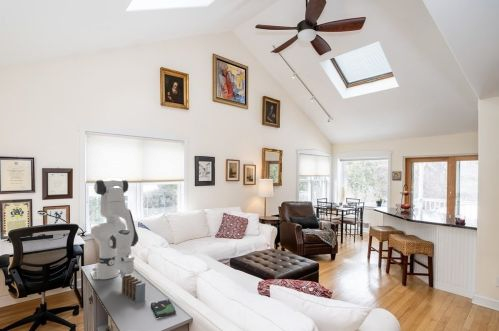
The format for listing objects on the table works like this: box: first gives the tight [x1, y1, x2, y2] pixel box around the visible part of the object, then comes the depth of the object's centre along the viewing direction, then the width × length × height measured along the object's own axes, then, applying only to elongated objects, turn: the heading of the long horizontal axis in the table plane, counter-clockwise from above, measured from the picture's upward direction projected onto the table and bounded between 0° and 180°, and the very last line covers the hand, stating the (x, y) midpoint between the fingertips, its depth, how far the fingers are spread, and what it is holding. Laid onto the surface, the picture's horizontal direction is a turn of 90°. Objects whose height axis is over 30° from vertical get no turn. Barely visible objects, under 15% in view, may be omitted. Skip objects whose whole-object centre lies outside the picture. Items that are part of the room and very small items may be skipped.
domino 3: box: [127, 277, 139, 299], centre depth 163 cm, size 2×5×10 cm, turn 139°
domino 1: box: [121, 274, 132, 295], centre depth 169 cm, size 2×5×10 cm, turn 140°
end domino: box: [134, 281, 146, 303], centre depth 158 cm, size 2×5×10 cm, turn 139°
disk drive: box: [150, 299, 177, 319], centre depth 147 cm, size 10×3×15 cm
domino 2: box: [124, 276, 136, 297], centre depth 166 cm, size 2×5×10 cm, turn 139°
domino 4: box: [131, 279, 143, 301], centre depth 161 cm, size 2×5×10 cm, turn 140°
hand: (122, 277), depth 173 cm, fingers closed
